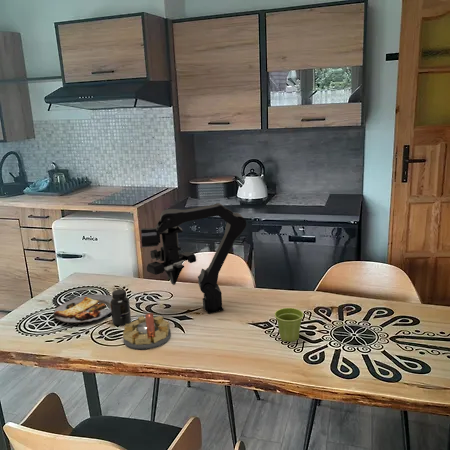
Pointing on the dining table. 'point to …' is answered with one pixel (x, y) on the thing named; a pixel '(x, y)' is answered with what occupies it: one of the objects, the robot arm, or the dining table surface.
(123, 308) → the supplement bottle
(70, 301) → the food plate
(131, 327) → the handwheel
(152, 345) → the flange
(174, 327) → the dining table surface
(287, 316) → the plant pot
